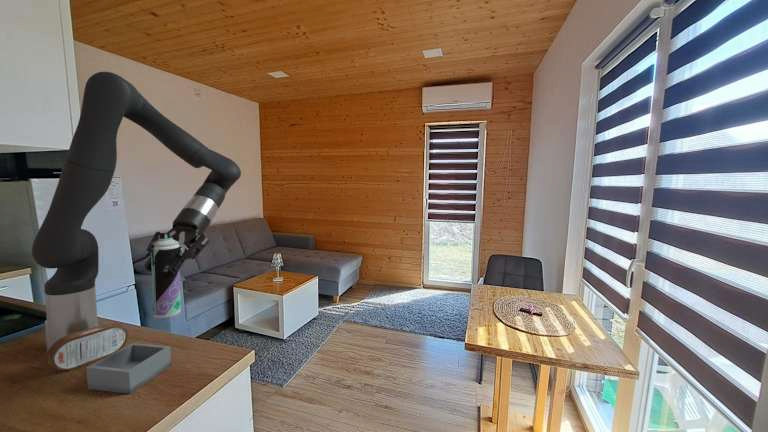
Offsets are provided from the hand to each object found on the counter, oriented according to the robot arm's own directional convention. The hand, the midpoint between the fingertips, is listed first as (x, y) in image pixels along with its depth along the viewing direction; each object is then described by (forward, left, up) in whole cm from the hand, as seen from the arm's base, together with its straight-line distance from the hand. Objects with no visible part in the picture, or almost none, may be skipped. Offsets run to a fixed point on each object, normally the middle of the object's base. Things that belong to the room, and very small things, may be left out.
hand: (159, 270), depth 69 cm
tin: (-22, +2, -26) cm, 34 cm away
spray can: (0, +2, -11) cm, 11 cm away
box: (-6, -2, -26) cm, 26 cm away
